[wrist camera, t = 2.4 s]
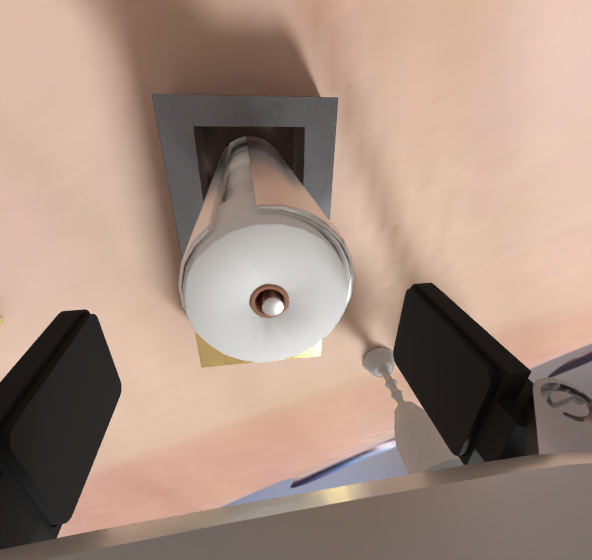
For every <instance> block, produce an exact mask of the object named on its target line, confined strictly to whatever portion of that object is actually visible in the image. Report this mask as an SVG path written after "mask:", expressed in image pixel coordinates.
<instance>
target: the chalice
mask: <svg viewBox="0 0 592 560" xmlns="http://www.w3.org/2000/svg"><path fill="white" fill-rule="evenodd" d="M363 367H364V368H365V369H366V370H368V371H369V372H370V373H371V374H372V375H374V376H376V377H384V378H385V380H386V384H385V387H386V388H389V389H390V390H391V393H392V394H391V397H392V398H393V399H395V400H396V402H397V403H398V406H397V408H396V409H395V439H396V446H397V449H398V451H399V453H400V455H401V458H402V460H403V462H404V464H405V466H406V468H407V471H408V473H409V475H410V474H416V473H422V472H428V471H434V470H439V469H445V468H451V467H457V466H463V465H464V464H463V463H462V461H461V460H460V458H459V457H458V456H455V455H454V454H452V452H451V451H450V450H449V448H448V447H447V445H446V443H445V442H444V440H443V439H442V437H441V435H440V434H439V432H438V431H437V429H436V427H435V426H434V424H433V423H432V421H431V419H430V418H429V416H428V415H427V413H426V411H425V410H423V409H422V408H420V407H419V406H417V405H416V404H414V403H412V402H405V401H404V400H403V397H402V391H401V390H399V389H398V388H397V387H396V384H397V381H396V380H395V379H392V377H391V376H390V374H391V373H392V371H393V369H394V358H393V352H392V350H390V349H389V348H386V347H379V348H375V349H373V350H371V351H370V352H368V353H367V354H366V355H365V357H364V359H363Z"/></svg>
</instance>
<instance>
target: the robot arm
mask: <svg viewBox="0 0 592 560" xmlns="http://www.w3.org/2000/svg"><path fill="white" fill-rule="evenodd" d="M393 358H394V361H395V363H396V365H397V366H398V368H399V370H400V371H401V373H402V374H403V376H404V378H405V379H406V381H407V382H408V384H409V386H410V387H411V389H412V390H413V392H414V394H415V395H416V397H417V398H418V400H419V402H420V403H421V405H422V406H423V408H424V410H425V411H426V413H427V415H428V416H429V418H430V419H431V421H432V423H433V424H434V426H435V427H436V429H437V431H438V432H439V434H440V435H441V437H442V439H443V440H444V442H445V443H446V445H447V447H448V448H449V450H450V451H451V452H452V454H454V455H455V456H458V457H459V458H460V460H461V461H462V463H463V464H464V465H463V466H457V467H451V468H445V469H439V470H434V471H428V472H422V473H416V474H410V475H404V476H398V477H393V478H387V479H381V480H375V481H369V482H364V483H358V484H353V485H346V486H341V487H335V488H329V489H324V490H318V491H312V492H307V493H301V494H295V495H290V496H284V497H278V498H273V499H268V500H262V501H257V502H250V503H245V504H239V505H233V506H228V507H222V508H217V509H211V510H206V511H200V512H195V513H189V514H184V515H178V516H173V517H167V518H162V519H156V520H151V521H146V522H140V523H135V524H129V525H124V526H118V527H113V528H107V529H102V530H96V531H91V532H86V533H81V534H76V535H71V536H66V537H61V538H57V536H58V533H59V531H60V529H61V526H62V524H64V523H67V522H68V521H69V520H70V518H71V517H72V514H73V512H74V510H75V507H76V505H77V502H78V500H79V497H80V495H81V492H82V490H83V487H84V485H85V482H86V480H87V477H88V475H89V472H90V470H91V467H92V465H93V462H94V460H95V457H96V455H97V452H98V450H99V447H100V445H101V442H102V440H103V437H104V435H105V432H106V430H107V427H108V425H109V422H110V420H111V417H112V415H113V412H114V410H115V407H116V405H117V402H118V400H119V397H120V394H121V381H120V379H119V376H118V373H117V370H116V368H115V365H114V362H113V359H112V356H111V354H110V351H109V348H108V345H107V343H106V340H105V337H104V334H103V331H102V329H101V326H100V323H99V320H98V318H97V316H96V315H95V314H90V312H89V311H88V310H73V311H63V312H60V313H59V314H58V315H57V317H56V318H55V319H54V320H53V321H52V322H51V324H50V325H49V326H48V327H47V328H46V329H45V331H44V332H43V333H42V334H41V335H40V336H39V338H38V339H37V340H36V341H35V342H34V343H33V345H32V346H31V347H30V348H29V349H28V350H27V352H26V353H25V354H24V355H23V356H22V358H21V359H20V360H19V361H18V362H17V363H16V365H15V366H14V367H13V368H12V369H11V370H10V372H9V373H8V374H7V375H6V376H5V377H4V379H3V380H2V381H1V382H0V560H592V394H591V393H589V392H588V391H586V390H584V389H582V388H580V387H579V386H577V385H574V384H572V383H569V382H567V381H563V380H559V379H555V378H543V379H539V380H537V381H536V382H535V383H534V384H533V383H532V382H531V381H530V380H529V379H528V377H529V375H530V373H531V371H530V370H529V369H528V368H527V367H526V366H525V365H524V364H522V363H521V362H520V361H519V360H518V359H517V358H516V357H515V356H513V355H512V354H511V353H510V352H509V351H508V350H507V349H506V348H505V347H503V346H502V345H501V344H500V343H499V342H498V341H497V340H496V339H494V338H493V337H492V336H491V335H490V334H489V333H488V332H487V331H486V330H484V329H483V328H482V327H481V326H480V325H479V324H478V323H477V322H475V321H474V320H473V319H472V318H471V317H470V316H469V315H468V314H466V313H465V312H464V311H463V310H462V309H461V308H460V307H459V306H458V305H456V304H455V303H454V302H453V301H452V300H451V299H450V298H449V297H447V296H446V295H445V294H444V293H443V292H442V291H441V290H440V289H439V288H437V287H436V286H435V285H434V284H432V283H421V284H413V285H412V286H411V288H410V289H408V290H407V291H406V294H405V299H404V303H403V308H402V313H401V317H400V322H399V327H398V331H397V336H396V341H395V346H394V350H393Z"/></svg>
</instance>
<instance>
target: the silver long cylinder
mask: <svg viewBox="0 0 592 560" xmlns="http://www.w3.org/2000/svg"><path fill="white" fill-rule="evenodd" d="M354 280H355V274H354V267H353V261H352V256H351V254H350V252H349V250H348V248H347V246H346V244H345V241H344V239H343V238H342V236H341V235H340V234H339V232H338V231H337V230H336V228H335V227H334V226H333V224H332V223H331V222H330V220H329V219H328V218H327V216H326V215H325V214H324V213H323V211H322V210H321V209H320V207H319V206H318V205H317V203H316V202H315V201H314V199H313V198H312V197H311V195H310V194H309V193H308V191H307V190H306V189H305V187H304V186H303V185H302V183H301V182H300V181H299V179H298V178H297V177H296V175H295V174H294V173H293V171H292V170H291V169H290V168H289V166H288V165H287V164H286V162H285V161H284V160H283V158H282V157H281V156H280V154H279V153H278V152H277V150H276V149H275V148H274V147H273V146H272V145H271V144H270V143H269V142H267V141H265V140H264V139H262V138H258V137H255V136H244V137H240V138H237V139H235V140H234V141H232V142H231V143H229V145H228V146H227V147H226V148H225V149H224V151H223V153H222V155H221V157H220V160H219V162H218V165H217V168H216V170H215V173H214V176H213V178H212V181H211V184H210V186H209V189H208V192H207V194H206V197H205V200H204V203H203V205H202V208H201V211H200V213H199V216H198V219H197V221H196V224H195V227H194V229H193V232H192V235H191V237H190V240H189V243H188V246H187V248H186V251H185V254H184V256H183V259H182V262H181V267H180V274H179V280H178V287H179V293H180V298H181V304H182V307H183V309H184V311H185V313H186V315H187V317H188V319H189V321H190V323H191V325H192V327H193V329H194V330H195V332H196V333H197V334H198V335H199V336H200V337H201V338H202V339H203V340H204V341H206V342H207V343H208V344H209V345H211V346H212V347H214V348H215V349H217V350H218V351H220V352H221V353H223V354H224V355H227V356H231V357H234V358H237V359H240V360H244V361H252V362H259V363H263V362H271V361H278V360H283V359H286V358H290V357H294V356H298V355H300V354H301V353H303V352H305V351H307V350H308V349H310V348H312V347H313V346H315V345H316V344H317V343H319V342H320V341H321V340H322V339H324V338H325V337H326V336H327V335H329V333H330V332H331V331H332V329H333V328H334V327H335V325H336V324H337V323H338V321H339V320H340V319H341V317H342V316H343V315H344V313H345V311H346V309H347V307H348V304H349V302H350V300H351V298H352V294H353V287H354Z"/></svg>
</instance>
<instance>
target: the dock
mask: <svg viewBox="0 0 592 560" xmlns="http://www.w3.org/2000/svg"><path fill="white" fill-rule="evenodd" d="M152 98H153V103H154V109H155V114H156V119H157V125H158V130H159V136H160V141H161V147H162V152H163V158H164V163H165V169H166V174H167V180H168V185H169V190H170V196H171V201H172V207H173V212H174V218H175V223H176V229H177V234H178V240H179V245H180V251H181V256H182V259H183V256H184V254H185V251H186V248H187V246H188V243H189V240H190V237H191V235H192V232H193V229H194V227H195V224H196V221H197V219H198V216H199V213H200V211H201V208H202V205H203V203H204V200H205V197H206V194H207V192H208V189H209V181H208V173H207V164H206V156H205V148H204V140H203V131H202V126H236V127H294V174H295V175H296V177H297V178H298V179H299V181H300V182H301V183H302V185H303V186H304V187H305V189H306V190H307V191H308V193H309V194H310V195H311V197H312V198H313V199H314V201H315V202H316V203H317V205H318V206H319V207H320V209H321V210H322V211H323V213H324V214H325V215H326V216H327V218H328V219H329V220H330V207H331V193H332V178H333V164H334V150H335V135H336V121H337V106H338V98H335V97H283V96H231V95H179V94H152ZM195 335H196V340H197V346H198V351H199V357H200V362H201V368H202V367H212V366H222V365H232V364H242V363H252V361H244V360H240V359H237V358H234V357H231V356H227V355H224V354H223V353H221V352H220V351H218V350H217V349H215V348H214V347H212V346H211V345H209V344H208V343H207V342H206V341H204V340H203V339H202V338H201V337H200V336H199V335H198V334H197V333H196V332H195ZM321 343H322V340H321V341H320V342H319V343H317V344H316V345H315V346H313V347H312V348H310V349H308V350H307V351H305V352H303V353H301V354H300V355H298V356H294V357H290V358H286V359H293V358H303V357H313V356H321Z"/></svg>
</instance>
